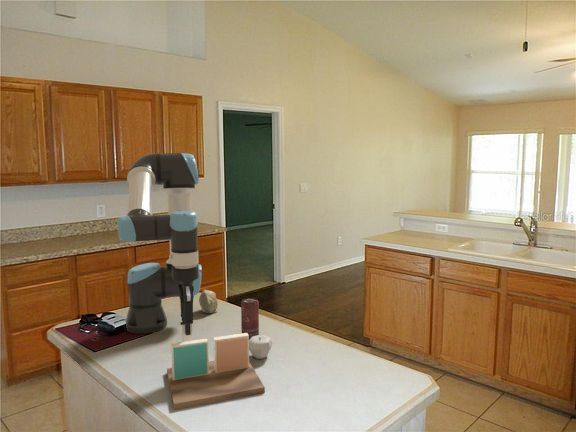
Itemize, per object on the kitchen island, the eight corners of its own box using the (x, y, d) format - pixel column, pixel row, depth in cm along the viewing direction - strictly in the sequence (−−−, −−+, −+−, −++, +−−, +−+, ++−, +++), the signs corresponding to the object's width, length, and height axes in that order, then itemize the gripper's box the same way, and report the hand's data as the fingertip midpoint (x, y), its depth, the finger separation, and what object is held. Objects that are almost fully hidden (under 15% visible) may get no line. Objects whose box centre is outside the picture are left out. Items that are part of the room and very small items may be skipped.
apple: (273, 361, 138) (273, 341, 137) (248, 363, 137) (248, 343, 136) (270, 350, 146) (270, 331, 145) (246, 352, 144) (246, 332, 143)
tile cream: (214, 369, 129) (213, 337, 128) (247, 364, 133) (247, 332, 131) (216, 373, 127) (215, 340, 125) (249, 368, 130) (249, 335, 129)
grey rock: (209, 320, 178) (206, 301, 173) (194, 313, 182) (190, 294, 177) (224, 307, 185) (222, 288, 180) (209, 300, 189) (207, 282, 184)
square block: (172, 376, 125) (171, 343, 124) (207, 371, 128) (206, 338, 127) (173, 381, 123) (171, 347, 121) (209, 375, 126) (208, 341, 125)
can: (257, 342, 152) (256, 303, 150) (239, 340, 153) (238, 301, 151) (261, 335, 158) (261, 297, 156) (244, 333, 159) (244, 296, 157)
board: (167, 373, 130) (166, 368, 130) (245, 360, 138) (245, 355, 138) (174, 409, 112) (173, 404, 111) (264, 392, 120) (264, 387, 120)
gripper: (169, 261, 131) (172, 337, 134) (174, 272, 119) (176, 355, 122) (195, 259, 133) (197, 333, 136) (202, 269, 121) (204, 351, 124)
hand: (187, 343), depth 129 cm, fingers closed
